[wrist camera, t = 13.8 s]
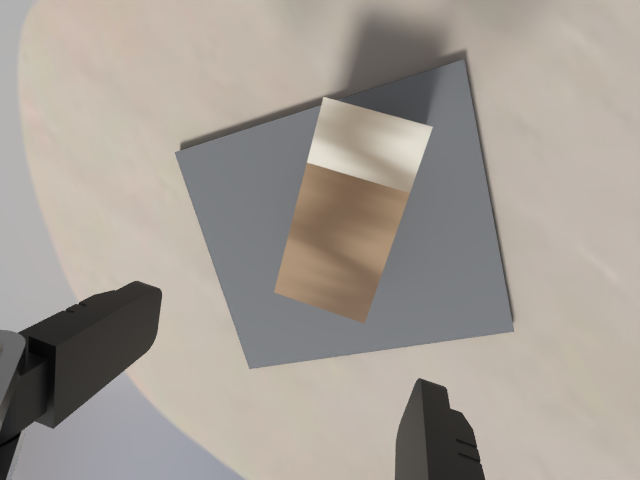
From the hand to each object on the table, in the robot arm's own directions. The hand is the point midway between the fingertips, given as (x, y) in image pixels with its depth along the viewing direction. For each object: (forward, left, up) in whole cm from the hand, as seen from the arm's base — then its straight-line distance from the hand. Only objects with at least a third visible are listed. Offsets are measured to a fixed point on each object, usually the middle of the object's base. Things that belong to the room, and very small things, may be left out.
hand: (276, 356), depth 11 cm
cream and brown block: (+1, +2, -11) cm, 11 cm away
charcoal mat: (0, 0, -14) cm, 14 cm away
